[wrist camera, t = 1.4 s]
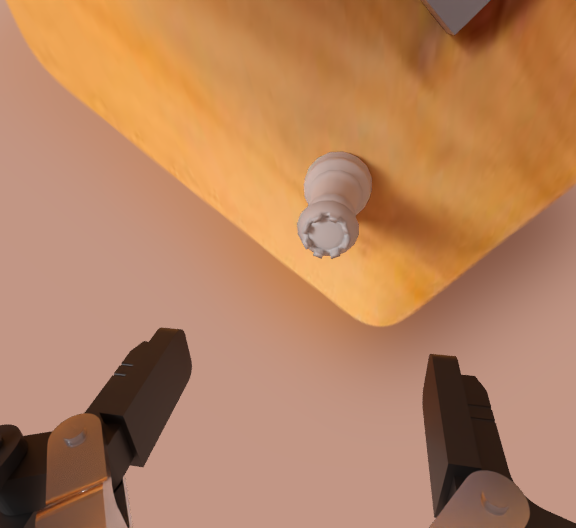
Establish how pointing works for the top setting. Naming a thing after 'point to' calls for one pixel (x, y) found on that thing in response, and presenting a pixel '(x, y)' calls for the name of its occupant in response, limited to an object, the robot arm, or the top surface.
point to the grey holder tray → (454, 12)
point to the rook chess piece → (333, 203)
